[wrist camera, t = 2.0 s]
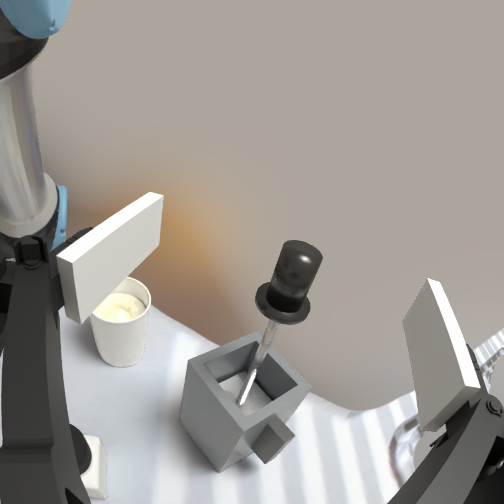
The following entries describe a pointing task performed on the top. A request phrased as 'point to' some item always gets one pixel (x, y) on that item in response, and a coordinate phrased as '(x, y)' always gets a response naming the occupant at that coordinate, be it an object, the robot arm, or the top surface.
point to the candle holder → (122, 324)
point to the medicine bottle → (91, 463)
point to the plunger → (276, 316)
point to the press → (228, 414)
